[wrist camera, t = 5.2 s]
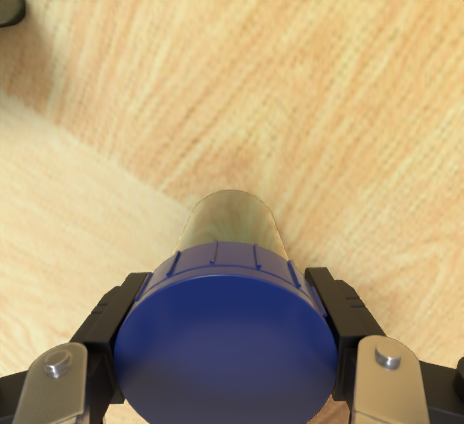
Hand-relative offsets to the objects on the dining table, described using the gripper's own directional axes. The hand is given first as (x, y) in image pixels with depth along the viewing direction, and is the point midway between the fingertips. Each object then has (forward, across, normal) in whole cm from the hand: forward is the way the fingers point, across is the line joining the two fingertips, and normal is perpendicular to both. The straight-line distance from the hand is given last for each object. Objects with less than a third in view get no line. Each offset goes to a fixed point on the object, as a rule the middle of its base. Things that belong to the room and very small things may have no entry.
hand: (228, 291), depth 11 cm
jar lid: (-3, 0, 0) cm, 3 cm away
